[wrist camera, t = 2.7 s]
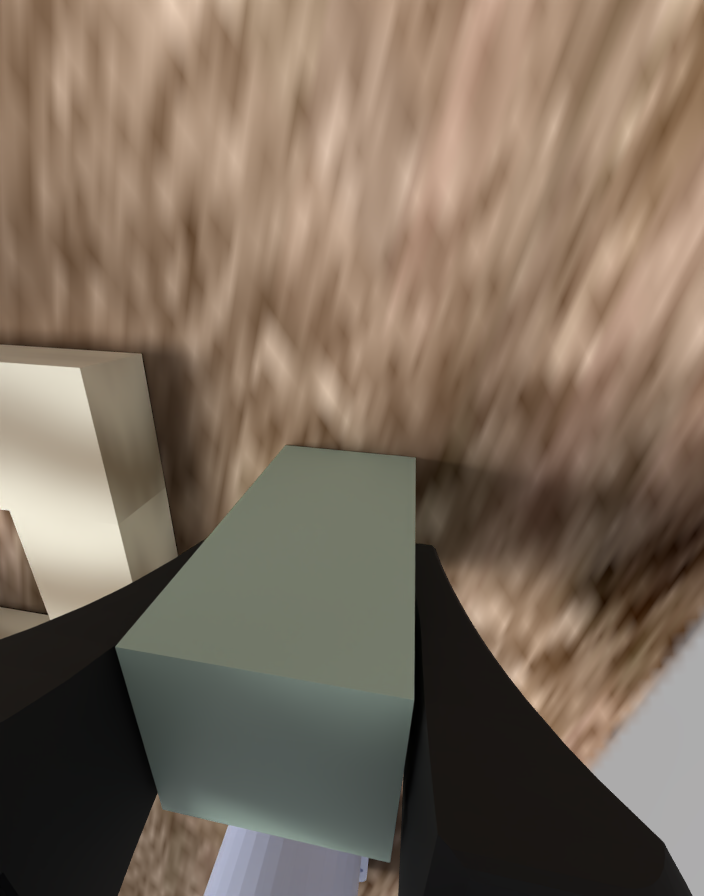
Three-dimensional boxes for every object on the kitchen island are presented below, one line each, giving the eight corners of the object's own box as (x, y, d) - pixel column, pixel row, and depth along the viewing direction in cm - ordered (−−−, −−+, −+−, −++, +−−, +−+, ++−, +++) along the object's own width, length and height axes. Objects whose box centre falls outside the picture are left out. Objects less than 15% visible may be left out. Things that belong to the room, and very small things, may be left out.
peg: (403, 565, 14) (390, 862, 7) (289, 550, 15) (163, 809, 7) (415, 457, 12) (413, 699, 5) (285, 445, 13) (114, 646, 6)
